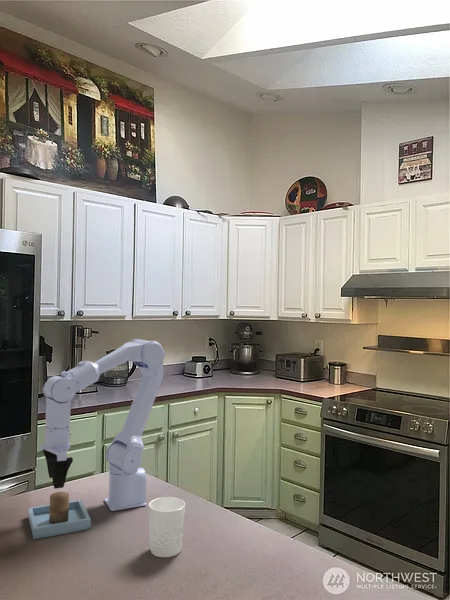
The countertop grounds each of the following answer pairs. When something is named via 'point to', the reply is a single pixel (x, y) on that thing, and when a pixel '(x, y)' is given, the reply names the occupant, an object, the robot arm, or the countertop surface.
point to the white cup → (166, 526)
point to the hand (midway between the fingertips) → (56, 482)
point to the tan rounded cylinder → (59, 507)
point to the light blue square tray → (44, 528)
